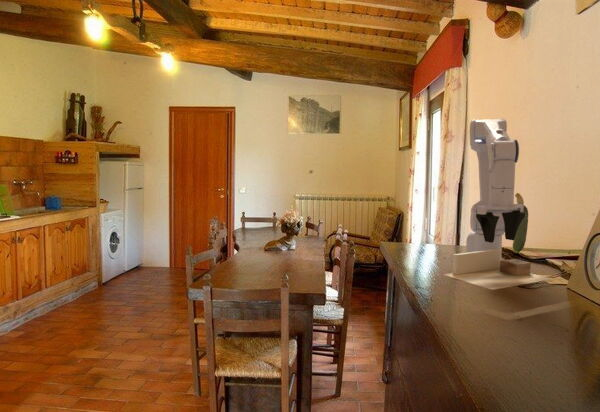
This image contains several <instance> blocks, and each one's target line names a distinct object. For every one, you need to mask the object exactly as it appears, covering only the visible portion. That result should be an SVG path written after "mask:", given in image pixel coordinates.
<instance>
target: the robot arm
mask: <svg viewBox="0 0 600 412" xmlns="http://www.w3.org/2000/svg"><path fill="white" fill-rule="evenodd" d="M507 129H508V123H507V120H506V119H505V118H504V117H503V118H496V119H491V118H490V119H472V120H471V121H470V123H469V146H470V149H471V150H472V151H474V152H475V153H476V156H477V160H478V180H479V181H478V182H479V185H478V186H479V200H478V201H477V202H475V203H474V204H473V205H472V206H471V208H470V219H469V220H470V221H469V223H470V225H469V226H470V230H471V232H470V233H469V234H468V235H467V237H466V242H465V243H466V244H465V245H466V246H465V248H466V249H465V253H468V252H476V251H484V250H492V249H500V250H501V253H502V252H503V250H502V249H503V248H502V247H503V245H502V244H503V236H504V238H505V240H508V241H513V240H514V239H515V236H516V233H517V230H518V227H519V225H520V223H521V221H522V220H523V218H524V217H525V213H520V212H523V208H524V206H525V205H523V204H518V203H514V202H515V182H516V181H515V180H516V179H515V178H516V177H515V176H516V164H517V163H518V161H519V157H520V156H519V155H520V144H519V141H518V139H513V140H511V138H510V136H509V134H508V133H507V131H508V130H507ZM501 260H502V255H501V256H500V261H501Z"/></svg>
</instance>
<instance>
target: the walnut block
mask: <svg viewBox="0 0 600 412" xmlns="http://www.w3.org/2000/svg"><path fill="white" fill-rule="evenodd" d="M531 265H532V264H531V262H530V261H525V260H522V259H521V260H520V259H516V258H508V259H503V260H502V259H501V261H500V272H502V273H506V274H510V275H513V276H522V275H528V274H530V273H531V267H532V266H531Z"/></svg>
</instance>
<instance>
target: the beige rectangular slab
mask: <svg viewBox="0 0 600 412" xmlns="http://www.w3.org/2000/svg"><path fill="white" fill-rule="evenodd" d="M500 256H501V257H502V252H501V250H500V249H492V250H484V251H476V252H468V253H466V252H461V253H453V254H452V273H453V274H462V273H469V272H475V271H482V270H489V269H495V268H500Z"/></svg>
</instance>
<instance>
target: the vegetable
mask: <svg viewBox="0 0 600 412" xmlns="http://www.w3.org/2000/svg"><path fill="white" fill-rule="evenodd" d="M514 198H516V204H523V205H524V203H525V202H524V198H523V196H522V195H521V193H519V192H517V193H515V194H514ZM520 213H525V217H524V218H523V220H522V221H521V223H520V225H519V227H518V230H517V233H516V236H515V239H514V240H512V241H513V242H512V252H514V254H517V253H518V254H520V253H521V251H523V250H524V247H525V245H526V241H527V234H528V227H529V226H528V223H529V210H528V207H527V206H526V205H524V208H523V212H520Z"/></svg>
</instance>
